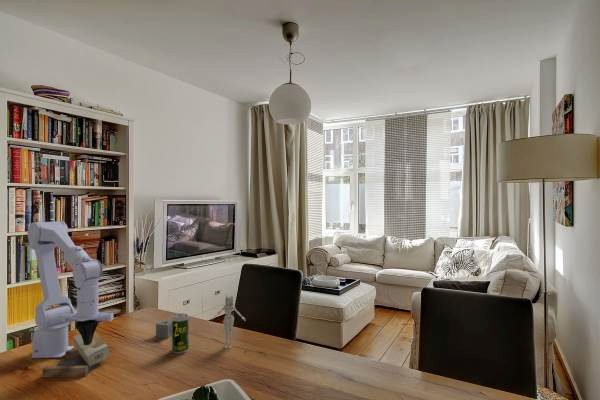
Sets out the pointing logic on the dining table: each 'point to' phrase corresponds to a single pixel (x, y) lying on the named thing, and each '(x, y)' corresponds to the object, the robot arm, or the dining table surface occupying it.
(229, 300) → the human figurine
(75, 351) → the u rest
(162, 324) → the dice cube
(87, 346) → the skincare box
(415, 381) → the dining table surface
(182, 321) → the beer can
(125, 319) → the dining table surface
